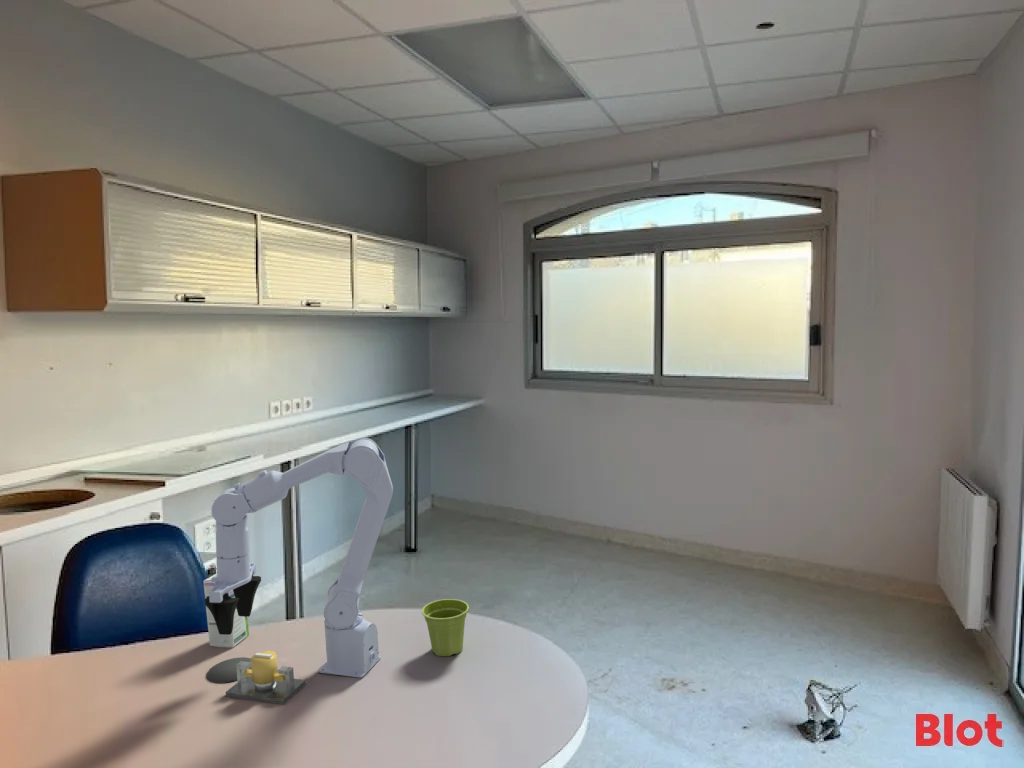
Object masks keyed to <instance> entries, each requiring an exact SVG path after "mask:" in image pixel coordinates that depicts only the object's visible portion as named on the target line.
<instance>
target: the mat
mask: <svg viewBox="0 0 1024 768" xmlns="http://www.w3.org/2000/svg"><path fill="white" fill-rule="evenodd" d="M241 661H245V662H251V657H245V656H244V657H233V658H229V659H226V660H222V661H220V662H218V663H216V664H214V665H212V667H210V668H209V669H208V671H207V673H206V677H207V679H208V680H209V681H211V682H213V683H216V684H217V683H218V684H219V683H220V684H223V683H224V684H226V683H232V682H238V681H237V668H236V665H237V664H238V663H239V662H241ZM248 669H251V670H252V667H250V668H248ZM245 671H246V670H245Z"/></svg>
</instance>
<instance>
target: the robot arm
mask: <svg viewBox="0 0 1024 768" xmlns="http://www.w3.org/2000/svg"><path fill="white" fill-rule="evenodd" d="M345 472H346V473H347V474H348V475H349V477H351V478H352V479H354V480H355V481H357V482H358V483H359V484H360V486H361V487H362V489H363V491H364V493H365V494H366V497H365V500H364V503H363V506H362V509H361V511H360V514H359V518H358V521H357V523H356V526H355V529H354V532H353V535H352V538H351V541H350V544H349V547H348V550H347V553H346V556H345V559H344V561H343V565H342V567H341V569H340V570H339V571H340V572H339V574H338V576H337V579H336V580H335V581H334V582H333V583H332V584H331V585H330V587H329V588H328V591H327V599H326V604H325V606H324V610H323V618H324V634H325V636H324V637H325V651H326V662H324V664H322V666H320V667H319V668H318V670H317V672H318V673H320V674H327V675H336V676H343V677H344V676H345V677H351V678H352V677H353V678H354V677H355V678H360V679H361V678H364V676H366V674H367V673H368V672H369V671H370V670H371V669H372V668H373V667H374V666H375V665H376V664H377V663H378V661H379V660H380V659H381V656H382V655H380V654H379V653H380V652H379V638H378V637H379V636H378V634H379V633H378V627H377V625H376V624H375V623H374V622H370V621H368V620H367V619H365V618H364V617H363V616H364V614H363V613H362V612H361V611H360V609H359V604H360V598H361V592H362V591H361V590H362V586H363V583H364V579H365V576H366V574H367V570H368V567H369V565H370V561H371V559H372V556H373V553H374V550H375V547H376V545H377V541H378V538H379V535H380V532H381V530H382V526H383V523H384V522H385V518H386V515H387V513H388V509H389V506H390V504H391V500H392V498H393V495H394V494H393V493H394V485H393V482H392V479H391V476H390V472H389V469H388V466H387V462H386V458H385V453H384V452H383V451H382V449H381V448H380V447H379V445H378V444H377V443H376V441H374V440H373V439H371V438H368V437H359V438H356V439H355V440H353V441H352V442H350V443H349V442H345V443H342V444H339V445H337V446H335V447H332V448H330V449H327V450H325V451H324V452H322V453H320V454H318V455H316V456H314V457H312V458H310V459H308V460H306V461H304V462H302V463H299V464H298V465H296V466H294V467H292V468H290V469H287V471H286V470H285V471H283V472H281V471H277V470H270V471H267V470H266V469H264V470H262V471H260V472H259V473H258V474H257V475H258V476H257V477H255V478H252V479H250V480H248V481H246V482H243V483H241V482H238V483H236V484H234V486H233V487H231V488H227V489H225V490H224V491H222V492H221V493H220V495H219V496H218V497H217V498H216V499H215V500H214V501H213V503H212V506H211V515H212V518H213V519H214V521H215V553H216V554H215V556H216V573H217V575H215V574H213V575H214V576H213V575H212V576H213V577H212V578H211V581H212V582H215V583H214V586H213V589H212V590H211V591H210V592H209V596H208V597H207V598H206V599H205V598H204V604H205V607H206V606H207V607H208V609H209V610H210V611H211V613H212V615H213V617H214V620H215V622H216V625H217V628H218V631H219V634H222V635H230V634H231V633H232V630H233V622H234V613H235V609H236V606H237V612H238V616H244V617H247V618H248V617H250V616H251V614H252V610H253V604H254V600H255V597H256V596H255V595H256V593H257V590H258V587H259V586H260V583H261V582H262V577H261V576H259V575H255V574H257V564H256V563H251V562H250V561H251V559H250V555H251V554H250V552H251V551H250V528H249V522H248V518H249V517H248V514H255V513H256V512H258V511H261V510H263V509H264V508H267V507H269V506H271V505H273V504H275V503H278V502H280V501H282V500H284V499H286V497H287V496H288V494H289V490H290V489H291V488H294V487H297V486H299V485H301V484H304V483H306V482H309V481H310V480H313V479H315V478H318V477H321V476H322V475H325V474H327V473H331V474H335V475H338V476H339V475H340V476H344V474H345ZM231 590H233V592H234V595H235V598H230V596H229V592H230V591H231Z"/></svg>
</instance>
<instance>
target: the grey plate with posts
mask: <svg viewBox="0 0 1024 768" xmlns="http://www.w3.org/2000/svg"><path fill="white" fill-rule="evenodd" d="M250 667H251V662H245V661H241V662H239V663H238V664H237V665H236V668H237V681H236V682H237V683H235V684H234V685H233V686H231V687H230V688H228V690H226V691H225V697H228V698H235V699H242V700H248V701H249V700H250V701H254V702H255V701H256V702H257V701H258V702H263V703H264V702H265V703H270V704H276V705H277V704H279V705H285V704H286V703H287V702H288V701H290V699H291V698H293V696H294V695H296V693H298V692H299V691H300V690H301V689H302V688H303V687H304V686H305V685H306V684H307V683H306V679H301V678H300V679H299V678H295V676H294V673H295V672H294V667H293V666H292V667H291V666H284V665H281V667H280V668H278V674H284V675H286V679H285V680H284V681H283V682H281V681H272V682H269V683H266V684H256V683H254V682H253V681H252V678H250V677H244V672H245V670H247V669H248V668H250Z"/></svg>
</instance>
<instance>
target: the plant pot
mask: <svg viewBox="0 0 1024 768" xmlns="http://www.w3.org/2000/svg"><path fill="white" fill-rule="evenodd" d="M469 607H470V605H469V604H468V603H467V602H466V601H464V600H461V599H457V598H456V599H453V598H445V599H437V600H433V601H432V602H428V603H426V604H425V605H424V606H423V607H422V608H421V614H422V616H423V618H424V619H425V620H424V621H425V622H426V626H427V631H428V635H429V641H430V645H431V650H432V651H431V652H433V653H434V654H435V655H436V656H437V657H438V656H439V657H450V656H453V655H455V654H459V653H461V652H462V650H463V648H464V647H463V646H464V637H465V635H464V633H465V625H466V624H465V623H466V618H467V614H468V611H469Z"/></svg>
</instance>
